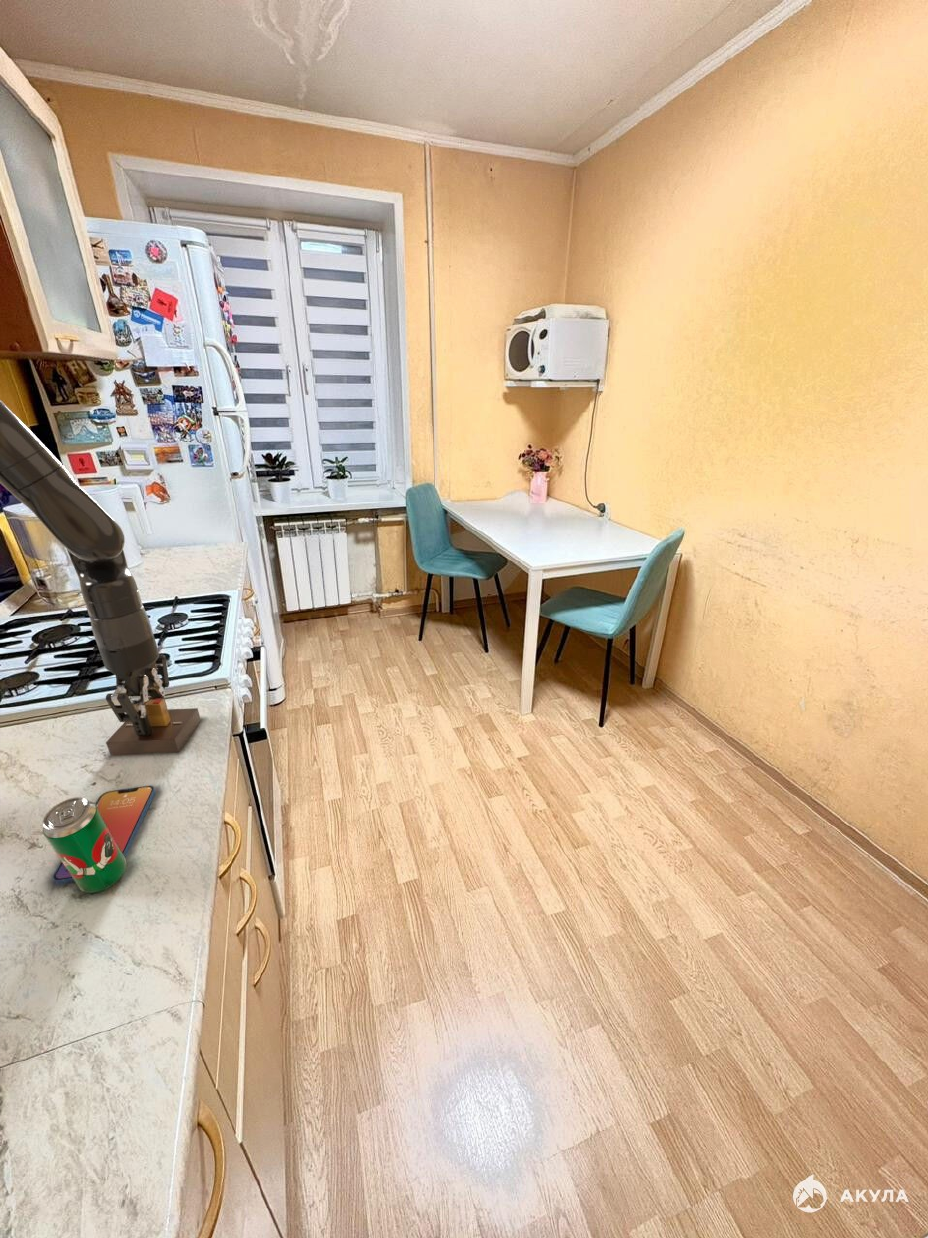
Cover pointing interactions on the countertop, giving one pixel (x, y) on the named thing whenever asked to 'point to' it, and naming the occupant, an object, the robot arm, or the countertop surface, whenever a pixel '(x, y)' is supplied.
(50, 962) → the countertop surface
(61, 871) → the smartphone
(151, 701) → the lock knob
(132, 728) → the plate
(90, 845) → the soda can
